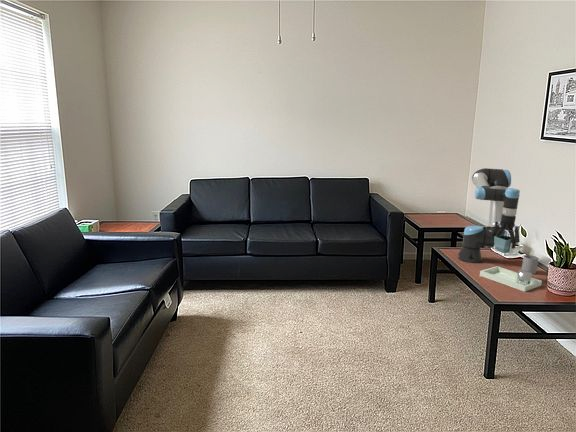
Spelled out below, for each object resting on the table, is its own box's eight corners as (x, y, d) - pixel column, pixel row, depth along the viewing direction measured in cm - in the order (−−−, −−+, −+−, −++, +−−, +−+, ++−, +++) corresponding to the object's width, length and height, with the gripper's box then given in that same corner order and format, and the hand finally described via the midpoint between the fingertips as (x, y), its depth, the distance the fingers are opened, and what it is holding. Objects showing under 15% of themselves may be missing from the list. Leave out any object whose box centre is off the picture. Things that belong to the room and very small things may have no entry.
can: (513, 284, 257) (515, 271, 256) (520, 281, 261) (522, 269, 259) (525, 288, 252) (527, 275, 250) (531, 285, 256) (534, 273, 254)
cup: (537, 274, 277) (540, 259, 275) (523, 273, 279) (526, 258, 277) (533, 270, 285) (535, 255, 283) (519, 269, 287) (522, 254, 285)
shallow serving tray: (479, 276, 270) (480, 270, 269) (496, 272, 279) (497, 266, 278) (524, 293, 247) (525, 286, 246) (540, 287, 257) (542, 280, 256)
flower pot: (491, 250, 267) (493, 236, 265) (502, 249, 271) (504, 235, 269) (503, 254, 259) (506, 240, 257) (514, 253, 263) (516, 239, 261)
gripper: (488, 211, 266) (482, 247, 272) (523, 219, 249) (517, 257, 254) (495, 210, 270) (489, 245, 276) (530, 218, 253) (524, 255, 258)
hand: (503, 251), depth 265 cm, fingers closed on flower pot, 9 cm apart
